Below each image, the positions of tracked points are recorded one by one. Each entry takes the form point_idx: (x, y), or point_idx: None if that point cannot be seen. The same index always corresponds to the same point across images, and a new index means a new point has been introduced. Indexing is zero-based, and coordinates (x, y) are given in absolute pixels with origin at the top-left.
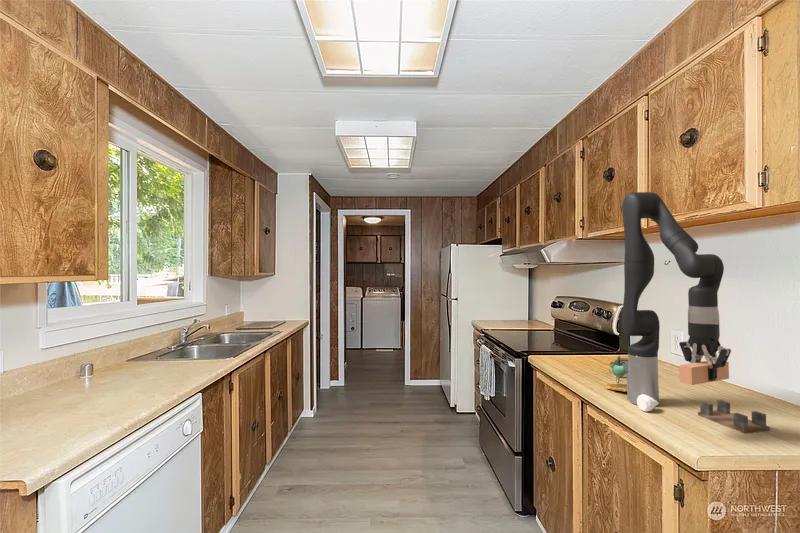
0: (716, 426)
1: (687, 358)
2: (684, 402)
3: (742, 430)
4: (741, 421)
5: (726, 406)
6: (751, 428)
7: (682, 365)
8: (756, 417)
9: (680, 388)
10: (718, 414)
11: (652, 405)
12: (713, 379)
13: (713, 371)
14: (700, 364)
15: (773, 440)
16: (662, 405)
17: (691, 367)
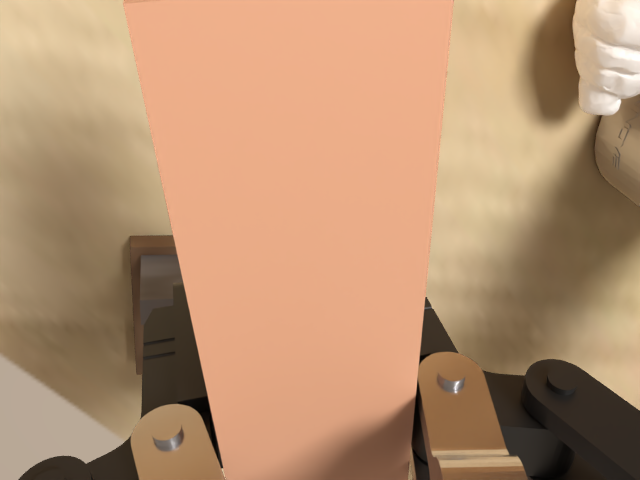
0: None
1: (563, 400)
2: (538, 306)
3: (140, 242)
4: (153, 278)
5: None
6: (135, 291)
7: (389, 2)
8: None
9: None
10: None
11: (584, 31)
12: (154, 313)
13: (144, 392)
14: (293, 377)
15: (13, 282)
16: (582, 180)
17: (138, 21)
